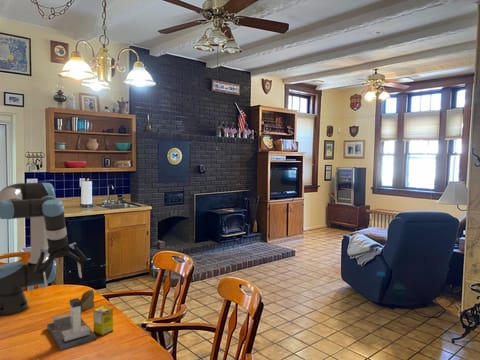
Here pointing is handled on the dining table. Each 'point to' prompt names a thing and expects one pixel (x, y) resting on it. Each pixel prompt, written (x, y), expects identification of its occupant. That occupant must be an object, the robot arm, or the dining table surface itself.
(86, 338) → the base
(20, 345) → the dining table surface
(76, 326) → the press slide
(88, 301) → the rock
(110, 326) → the supplement box
